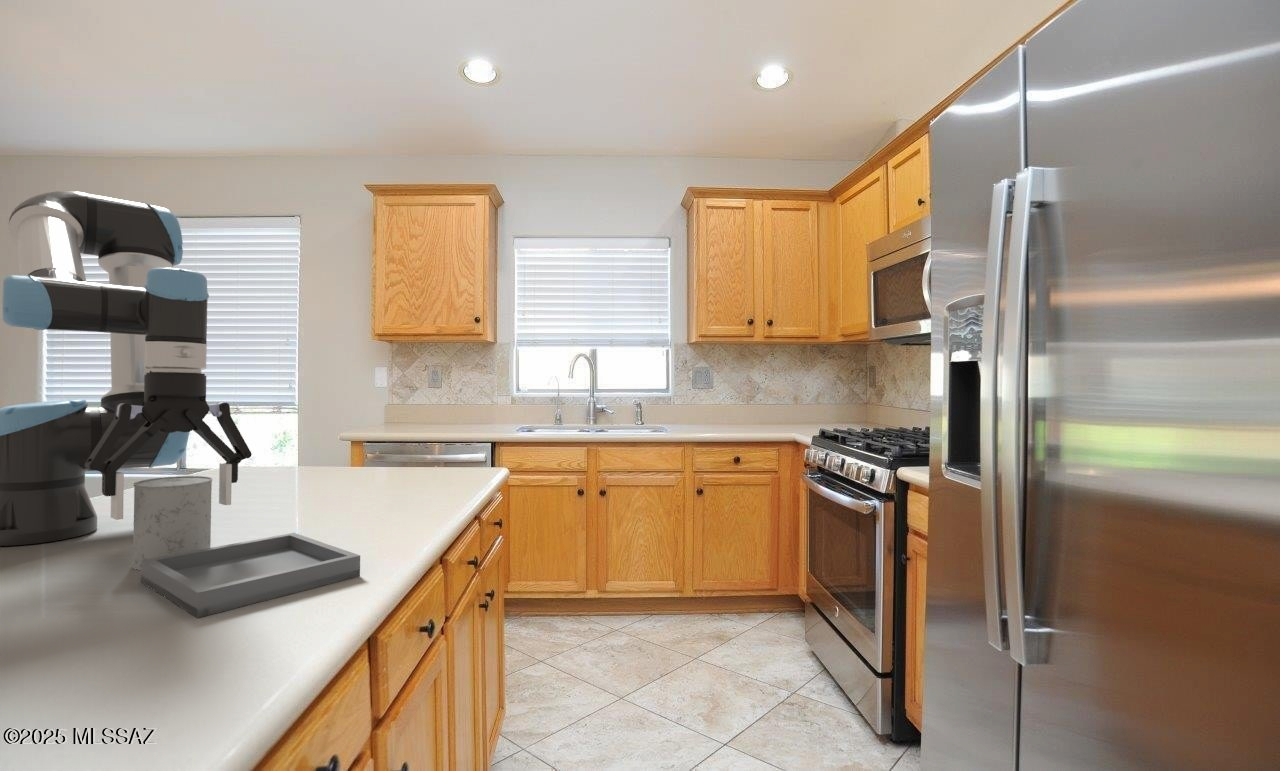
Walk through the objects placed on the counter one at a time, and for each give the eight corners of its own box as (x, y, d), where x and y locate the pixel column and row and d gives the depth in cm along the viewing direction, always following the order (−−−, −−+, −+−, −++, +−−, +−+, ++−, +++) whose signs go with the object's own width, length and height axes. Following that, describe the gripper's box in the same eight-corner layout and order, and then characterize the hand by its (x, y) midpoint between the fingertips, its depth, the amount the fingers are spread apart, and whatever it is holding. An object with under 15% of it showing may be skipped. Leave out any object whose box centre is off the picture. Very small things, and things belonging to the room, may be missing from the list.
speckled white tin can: (226, 554, 97) (227, 477, 97) (174, 572, 87) (175, 487, 87) (171, 551, 98) (172, 475, 98) (114, 569, 88) (115, 484, 88)
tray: (140, 582, 83) (141, 560, 83) (293, 550, 99) (294, 532, 99) (197, 618, 71) (197, 592, 71) (359, 576, 88) (360, 555, 88)
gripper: (73, 368, 80) (70, 529, 80) (275, 373, 100) (273, 501, 100) (58, 368, 84) (56, 521, 84) (255, 373, 105) (253, 496, 105)
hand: (174, 510), depth 92 cm, fingers open, 13 cm apart
